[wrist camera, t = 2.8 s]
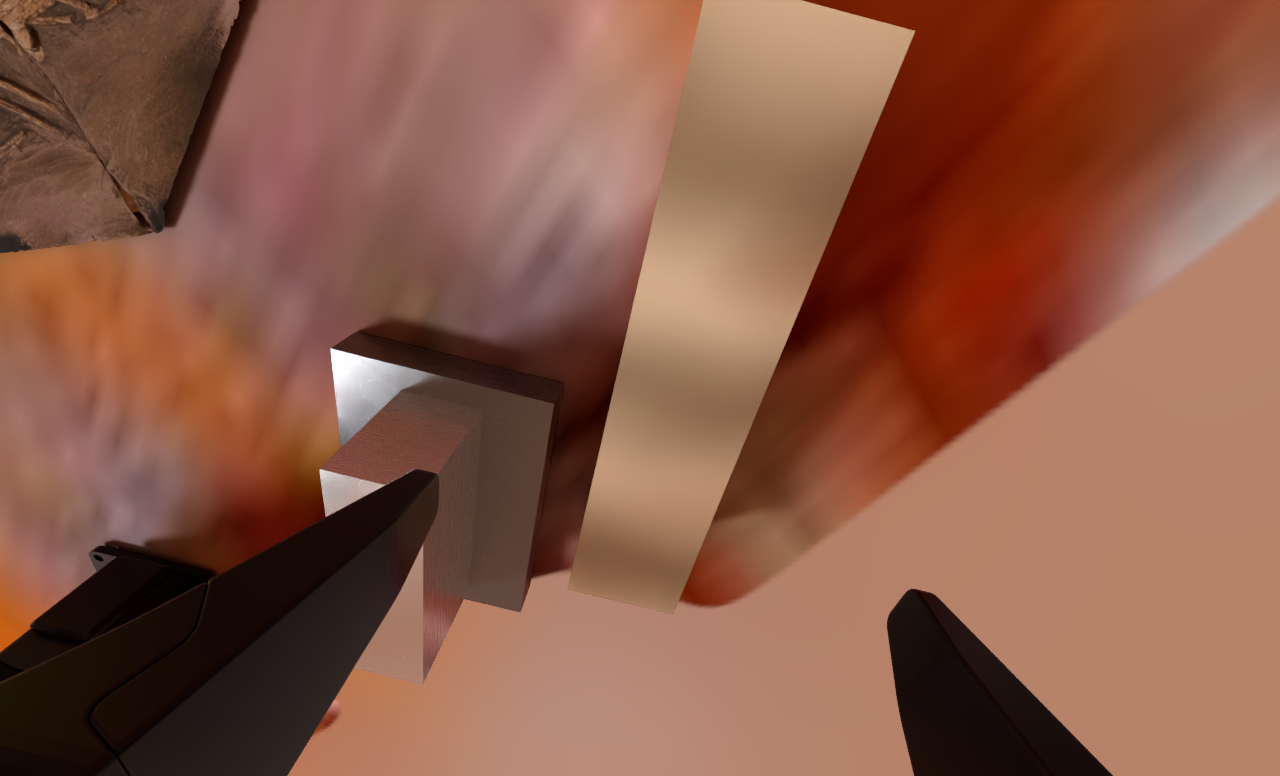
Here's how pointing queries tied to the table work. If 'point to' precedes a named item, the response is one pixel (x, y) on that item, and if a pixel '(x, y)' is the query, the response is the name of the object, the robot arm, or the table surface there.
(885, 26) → the birch rod
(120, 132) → the wooden fragment
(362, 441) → the balance ridge
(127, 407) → the table surface
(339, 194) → the table surface
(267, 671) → the robot arm
